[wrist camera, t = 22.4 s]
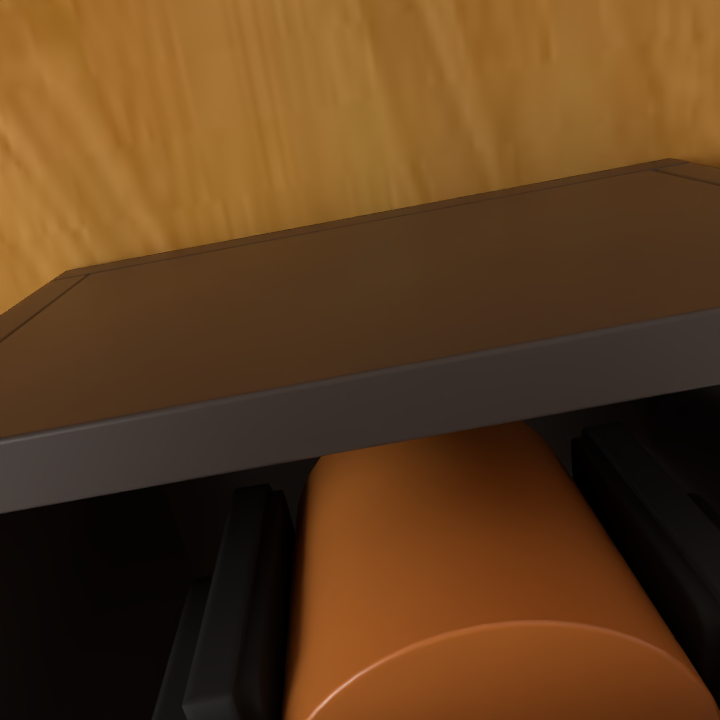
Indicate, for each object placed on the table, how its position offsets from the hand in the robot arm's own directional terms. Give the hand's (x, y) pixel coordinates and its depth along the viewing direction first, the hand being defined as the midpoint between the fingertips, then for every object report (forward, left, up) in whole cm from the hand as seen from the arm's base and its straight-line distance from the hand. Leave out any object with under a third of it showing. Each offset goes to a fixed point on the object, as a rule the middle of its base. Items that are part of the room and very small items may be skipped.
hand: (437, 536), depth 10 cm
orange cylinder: (0, 0, 0) cm, 0 cm away
